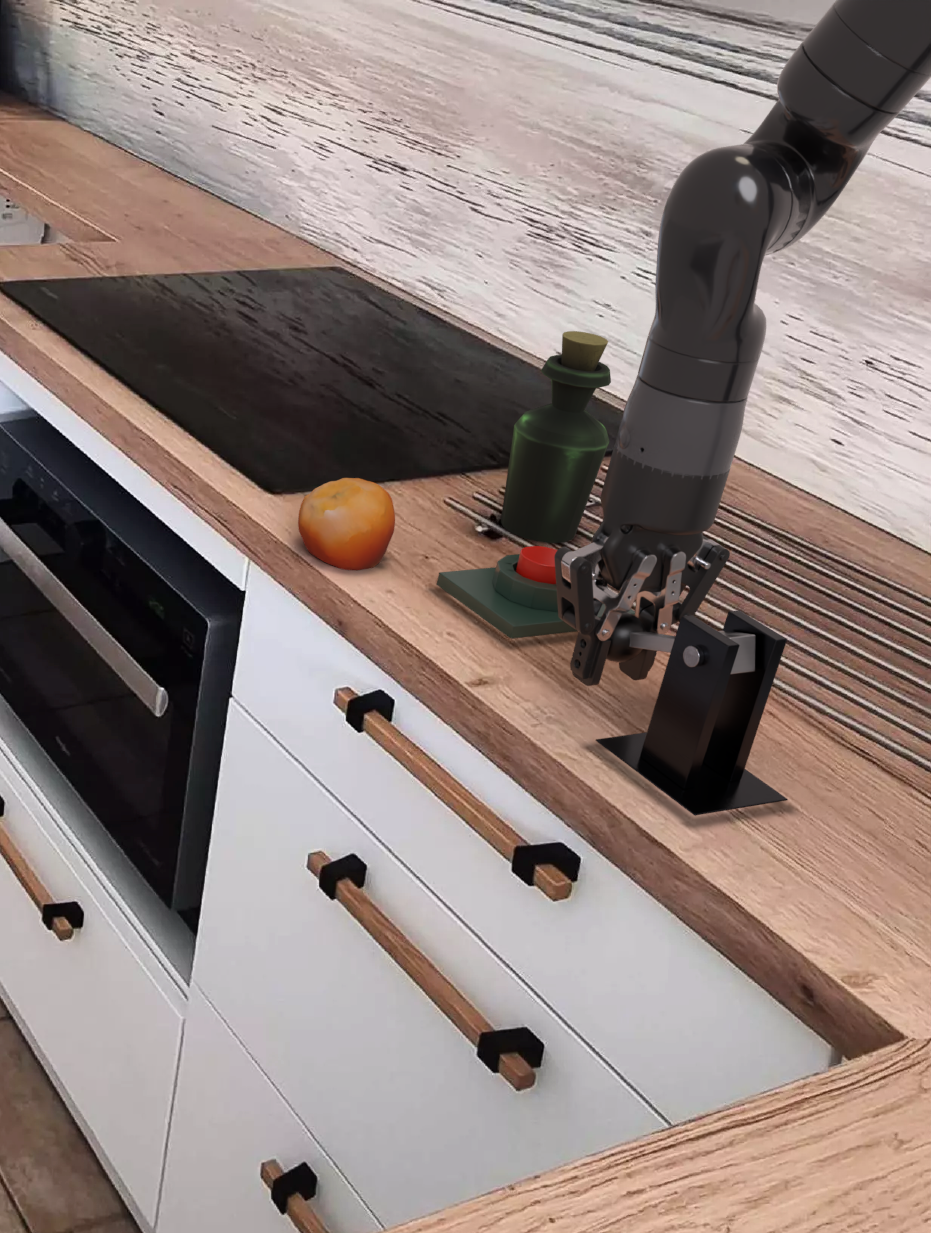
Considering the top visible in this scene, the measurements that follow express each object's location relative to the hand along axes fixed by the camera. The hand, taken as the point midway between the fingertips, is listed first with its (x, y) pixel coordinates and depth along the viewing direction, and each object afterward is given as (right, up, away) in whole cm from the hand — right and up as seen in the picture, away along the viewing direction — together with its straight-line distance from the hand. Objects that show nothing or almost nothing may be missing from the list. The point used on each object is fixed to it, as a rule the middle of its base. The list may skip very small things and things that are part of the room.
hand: (608, 676), depth 127 cm
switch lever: (+2, 0, -6) cm, 6 cm away
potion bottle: (+4, +13, +33) cm, 36 cm away
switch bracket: (+3, -7, -6) cm, 10 cm away
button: (0, +8, +15) cm, 17 cm away
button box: (-1, +5, +16) cm, 17 cm away
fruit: (-15, +10, +23) cm, 29 cm away
